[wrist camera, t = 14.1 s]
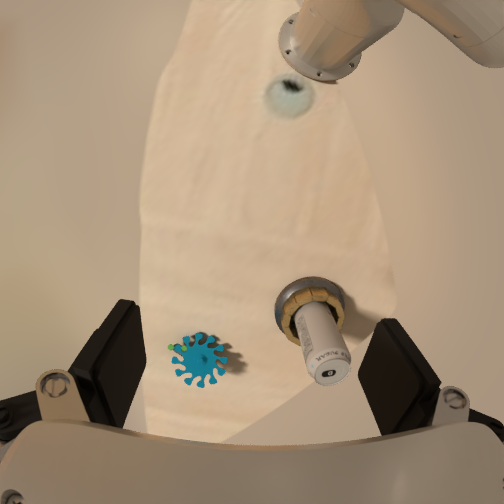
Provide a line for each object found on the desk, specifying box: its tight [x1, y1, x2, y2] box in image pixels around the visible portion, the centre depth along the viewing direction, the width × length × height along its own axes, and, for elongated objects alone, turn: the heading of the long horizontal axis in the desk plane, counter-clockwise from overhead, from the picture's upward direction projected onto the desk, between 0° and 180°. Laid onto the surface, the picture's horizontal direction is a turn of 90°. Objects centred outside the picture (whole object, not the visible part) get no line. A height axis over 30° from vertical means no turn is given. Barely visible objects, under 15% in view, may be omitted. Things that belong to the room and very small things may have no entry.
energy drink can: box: [294, 301, 351, 386], centre depth 40 cm, size 6×6×15 cm
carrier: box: [274, 277, 345, 346], centre depth 46 cm, size 12×12×4 cm
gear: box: [168, 333, 228, 388], centre depth 49 cm, size 11×6×10 cm
